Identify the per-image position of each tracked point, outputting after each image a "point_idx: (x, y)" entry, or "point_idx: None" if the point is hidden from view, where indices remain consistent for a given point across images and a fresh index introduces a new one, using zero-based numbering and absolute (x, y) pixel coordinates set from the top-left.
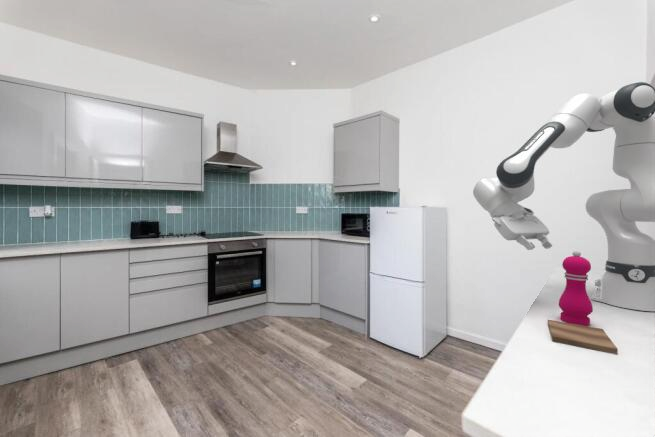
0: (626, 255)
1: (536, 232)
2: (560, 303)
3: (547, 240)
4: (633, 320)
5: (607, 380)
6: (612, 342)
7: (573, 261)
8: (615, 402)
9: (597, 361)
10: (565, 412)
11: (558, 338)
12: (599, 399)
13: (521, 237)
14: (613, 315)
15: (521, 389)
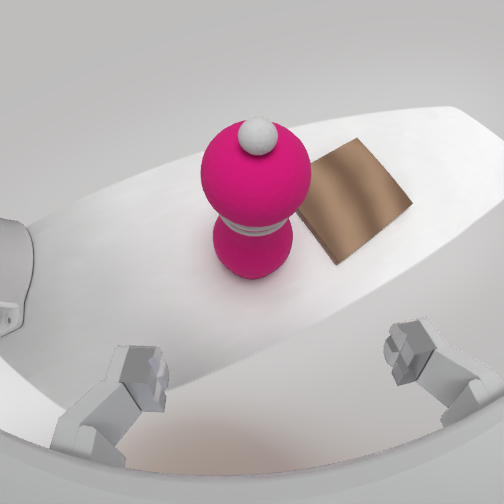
0: None
1: (229, 479)
2: (286, 257)
3: (111, 387)
4: (107, 208)
5: (429, 132)
6: (337, 148)
7: (305, 151)
8: (450, 122)
9: (402, 149)
10: (488, 140)
11: (406, 197)
12: (458, 129)
13: (494, 379)
14: (103, 242)
15: (501, 168)
